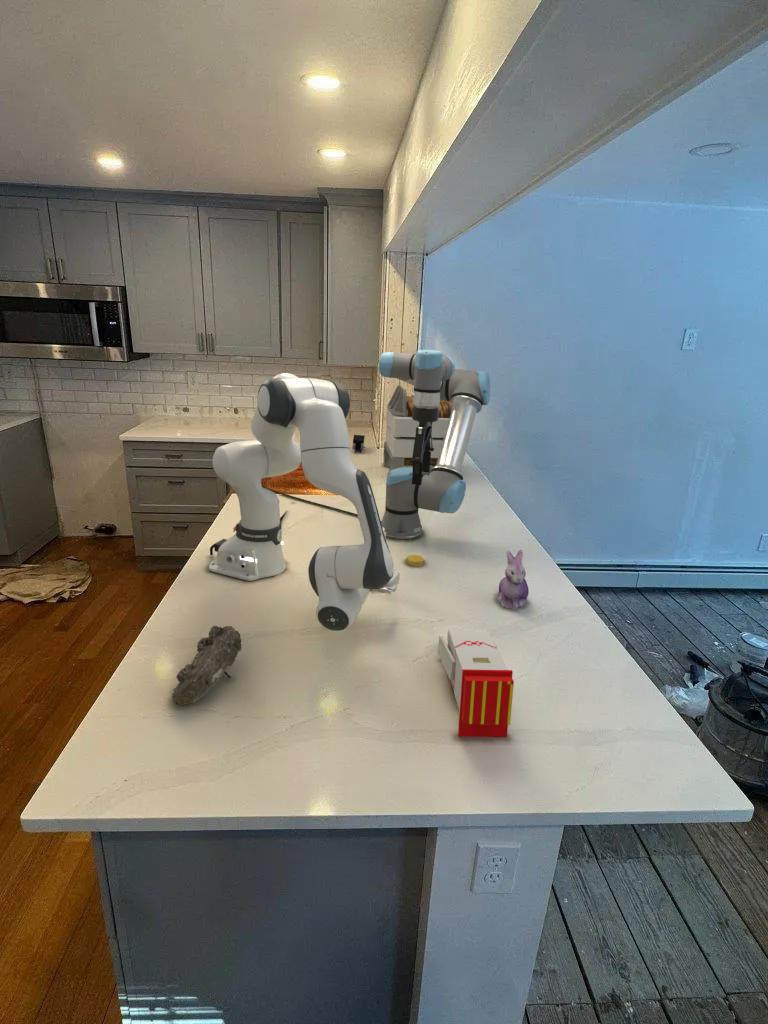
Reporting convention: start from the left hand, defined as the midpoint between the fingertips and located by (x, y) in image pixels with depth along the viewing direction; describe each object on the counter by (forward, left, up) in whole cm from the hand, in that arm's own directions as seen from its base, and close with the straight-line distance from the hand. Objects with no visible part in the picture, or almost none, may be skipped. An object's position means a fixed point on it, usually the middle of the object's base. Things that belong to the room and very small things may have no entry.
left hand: (365, 562), depth 149 cm
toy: (+30, -31, -12) cm, 45 cm away
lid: (+9, +29, -10) cm, 32 cm away
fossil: (-23, -40, -12) cm, 48 cm away
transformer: (-5, +131, -12) cm, 132 cm away
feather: (-45, +57, -12) cm, 73 cm away
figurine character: (-44, +165, -12) cm, 171 cm away
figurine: (+39, +12, -12) cm, 43 cm away
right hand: (+9, +29, +16) cm, 34 cm away
